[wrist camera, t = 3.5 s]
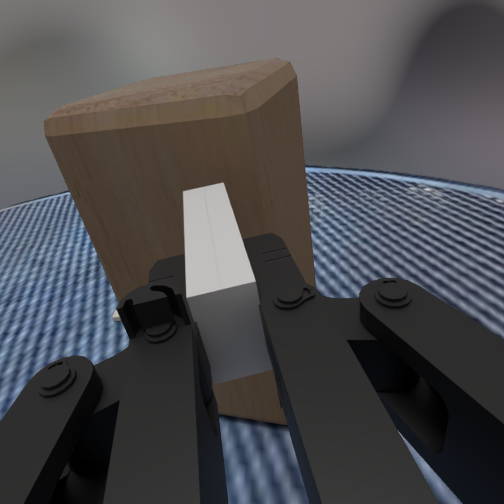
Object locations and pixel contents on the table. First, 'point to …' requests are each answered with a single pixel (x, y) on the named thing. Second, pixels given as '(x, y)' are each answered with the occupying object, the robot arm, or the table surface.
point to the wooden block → (189, 177)
